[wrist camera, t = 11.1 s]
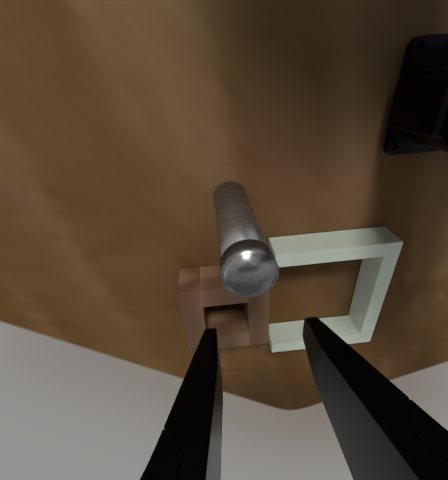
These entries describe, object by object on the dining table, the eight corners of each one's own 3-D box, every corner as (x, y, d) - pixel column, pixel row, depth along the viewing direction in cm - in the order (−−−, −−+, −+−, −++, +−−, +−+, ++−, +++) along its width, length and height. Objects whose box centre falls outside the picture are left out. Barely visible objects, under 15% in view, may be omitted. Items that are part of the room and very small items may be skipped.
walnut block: (262, 260, 23) (270, 283, 20) (261, 317, 27) (268, 343, 24) (179, 268, 23) (177, 293, 20) (190, 325, 26) (189, 352, 24)
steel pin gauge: (247, 178, 19) (280, 248, 11) (248, 211, 20) (278, 294, 13) (210, 182, 19) (219, 255, 11) (213, 215, 20) (223, 300, 13)
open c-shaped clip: (384, 226, 22) (403, 241, 20) (357, 322, 28) (369, 341, 26) (268, 237, 22) (275, 254, 20) (266, 332, 28) (271, 352, 26)
